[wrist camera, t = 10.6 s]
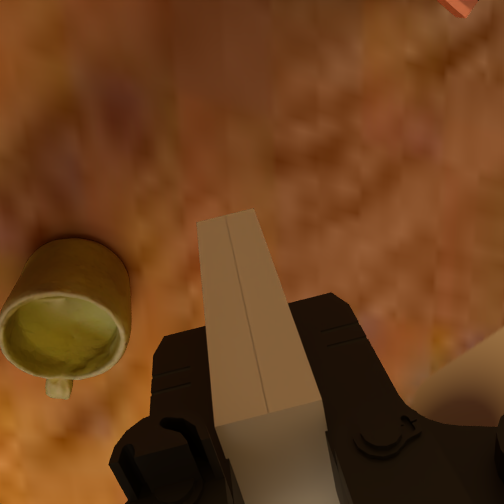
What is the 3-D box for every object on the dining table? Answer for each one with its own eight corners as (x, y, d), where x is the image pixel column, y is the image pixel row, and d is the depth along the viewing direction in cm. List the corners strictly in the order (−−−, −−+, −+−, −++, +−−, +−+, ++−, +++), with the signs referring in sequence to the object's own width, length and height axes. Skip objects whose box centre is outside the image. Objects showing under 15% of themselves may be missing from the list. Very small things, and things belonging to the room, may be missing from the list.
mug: (13, 206, 36) (13, 310, 30) (142, 230, 42) (165, 321, 36) (-19, 310, 43) (-25, 413, 36) (96, 318, 48) (109, 408, 42)
